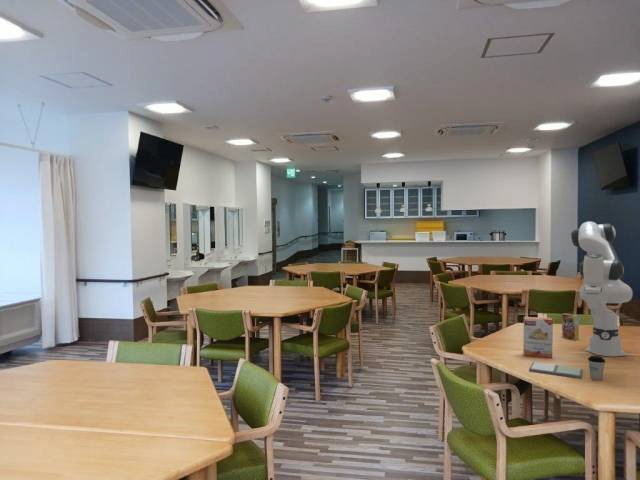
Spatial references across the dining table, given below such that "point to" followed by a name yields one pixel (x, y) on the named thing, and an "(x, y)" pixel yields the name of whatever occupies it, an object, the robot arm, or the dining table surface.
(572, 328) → the candy box
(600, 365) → the coffee cup
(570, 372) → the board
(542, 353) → the cracker box
